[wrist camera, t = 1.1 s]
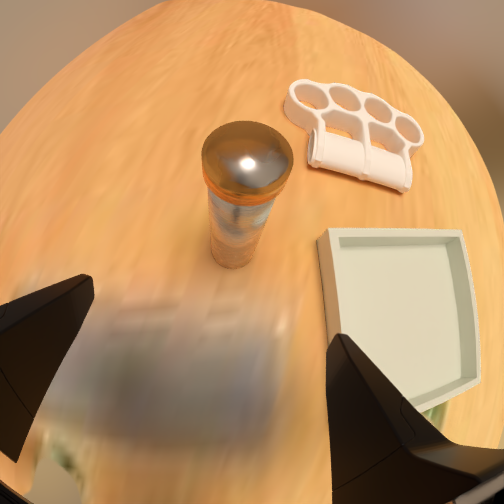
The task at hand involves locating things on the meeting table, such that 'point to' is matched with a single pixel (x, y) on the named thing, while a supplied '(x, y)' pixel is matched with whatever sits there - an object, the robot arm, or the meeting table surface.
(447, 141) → the meeting table surface
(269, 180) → the grey cylinder
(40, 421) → the meeting table surface
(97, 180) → the meeting table surface
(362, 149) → the white brass knuckles
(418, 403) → the tray
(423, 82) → the meeting table surface
